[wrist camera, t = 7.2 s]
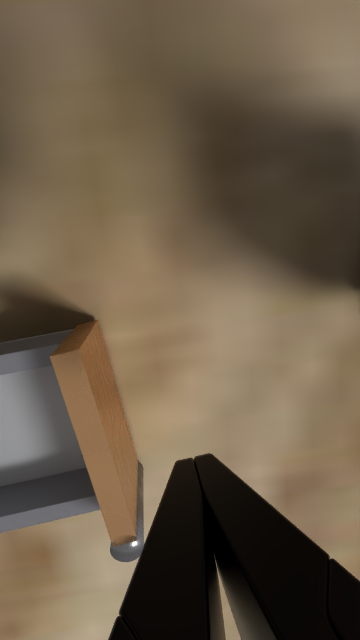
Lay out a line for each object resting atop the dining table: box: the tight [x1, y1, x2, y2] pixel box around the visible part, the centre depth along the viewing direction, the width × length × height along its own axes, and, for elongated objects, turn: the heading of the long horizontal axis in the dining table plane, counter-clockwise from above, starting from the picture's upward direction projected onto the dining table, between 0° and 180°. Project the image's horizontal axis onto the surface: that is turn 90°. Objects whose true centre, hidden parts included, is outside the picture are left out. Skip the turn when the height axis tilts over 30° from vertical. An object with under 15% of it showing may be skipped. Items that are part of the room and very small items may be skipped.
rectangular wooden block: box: [50, 320, 144, 562], centre depth 16 cm, size 11×2×6 cm, turn 12°
